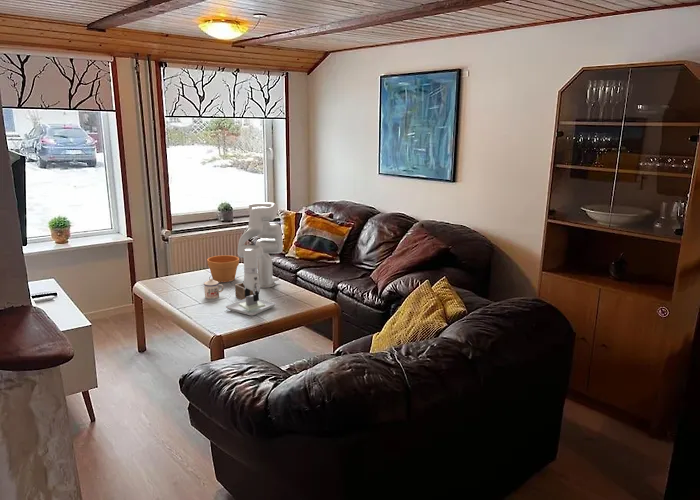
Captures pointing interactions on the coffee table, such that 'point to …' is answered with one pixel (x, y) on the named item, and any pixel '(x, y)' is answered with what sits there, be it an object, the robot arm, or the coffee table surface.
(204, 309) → the coffee table surface
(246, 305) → the lid
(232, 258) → the flower pot
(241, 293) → the crate
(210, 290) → the teacup with lid
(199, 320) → the coffee table surface
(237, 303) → the salad plate
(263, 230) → the robot arm
